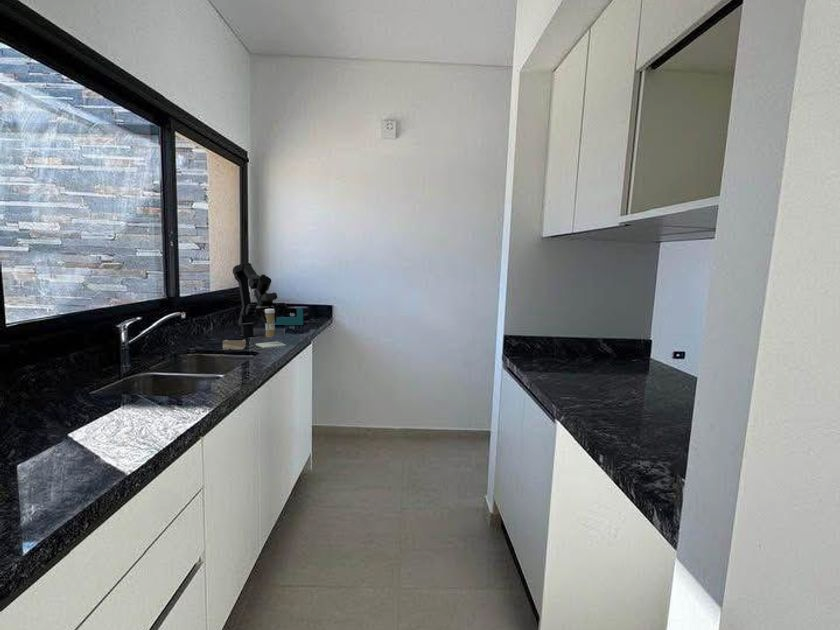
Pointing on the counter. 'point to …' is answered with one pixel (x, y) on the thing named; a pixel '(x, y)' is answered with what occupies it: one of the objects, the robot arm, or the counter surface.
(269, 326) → the sprinkles bottle
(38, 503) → the counter surface
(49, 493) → the counter surface
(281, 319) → the teal l-shaped bracket
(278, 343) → the rubber mat
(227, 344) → the bottle stand
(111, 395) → the counter surface
